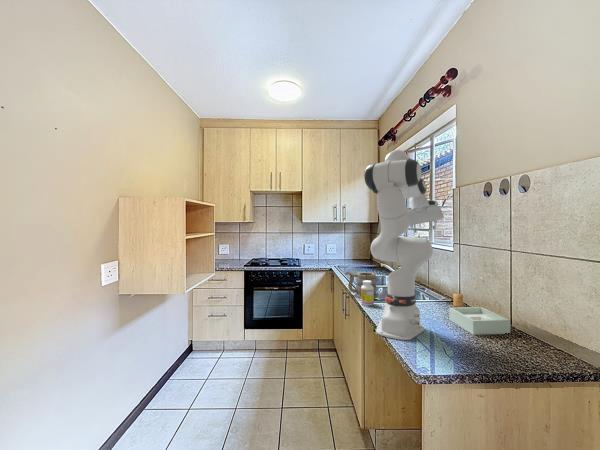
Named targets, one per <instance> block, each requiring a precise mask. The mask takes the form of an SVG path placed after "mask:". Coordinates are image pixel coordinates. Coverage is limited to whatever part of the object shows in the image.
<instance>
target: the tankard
mask: <svg viewBox="0 0 600 450" xmlns="http://www.w3.org/2000/svg"><path fill="white" fill-rule="evenodd" d="M344 275H345V276H347V275H349V281H348V284H347V285H348V290H349V291H350V292H351V293H354V297H356V298H357V299H359V298H360V300H361V286H363V281H365V280H369V281H371V285H372V286H373V295H374V300H376V299H378V298H379V294H378V293H376V291H377V290H378V288H377V287H378V286H377V284H376V283H377V282H378V281H377V280H378V278H376V273H374V272H358V273H353V272H351V271H349V270H348V271H346V272H344ZM354 278H355V281H356V283H357V284H356V287H355V289H354V288H353V283H354Z"/></svg>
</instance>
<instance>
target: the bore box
mask: <svg viewBox="0 0 600 450" xmlns="http://www.w3.org/2000/svg"><path fill="white" fill-rule="evenodd" d="M448 311H449V313H448V318H449V321H451V322H452V323H454V324H456V325H457V326H459V327H460V328H461V329H463V330H465V331H467V332H468V333H469V334H472V335H473V336H475V335H477V336H478V335H508V333H510V334H511V319H509V318H507V317H504V316H502V315H501V314H498V313H496V312H494V311H491V310H489V309H487V308H484V307H482V306H467V307H466V306H463V307H459V308H453V307H449V309H448ZM505 333H507V334H505Z"/></svg>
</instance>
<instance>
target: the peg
mask: <svg viewBox="0 0 600 450" xmlns="http://www.w3.org/2000/svg"><path fill="white" fill-rule="evenodd" d="M452 298H453V299H452V300H453V302H452V304H453V305H452V306H453V307H452V308H459V307H464V303H463V301H464V297H463V294H462V293H453V295H452Z"/></svg>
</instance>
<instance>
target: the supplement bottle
mask: <svg viewBox="0 0 600 450" xmlns="http://www.w3.org/2000/svg"><path fill="white" fill-rule="evenodd" d="M374 300H375V299H374V295H373V286H372V285H371V281H369V280H365V281H363V286H361V299H360V302H361V305H363V306H367V307H369V306H370V305H371V306H373V305H374V302H375V301H374Z"/></svg>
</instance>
